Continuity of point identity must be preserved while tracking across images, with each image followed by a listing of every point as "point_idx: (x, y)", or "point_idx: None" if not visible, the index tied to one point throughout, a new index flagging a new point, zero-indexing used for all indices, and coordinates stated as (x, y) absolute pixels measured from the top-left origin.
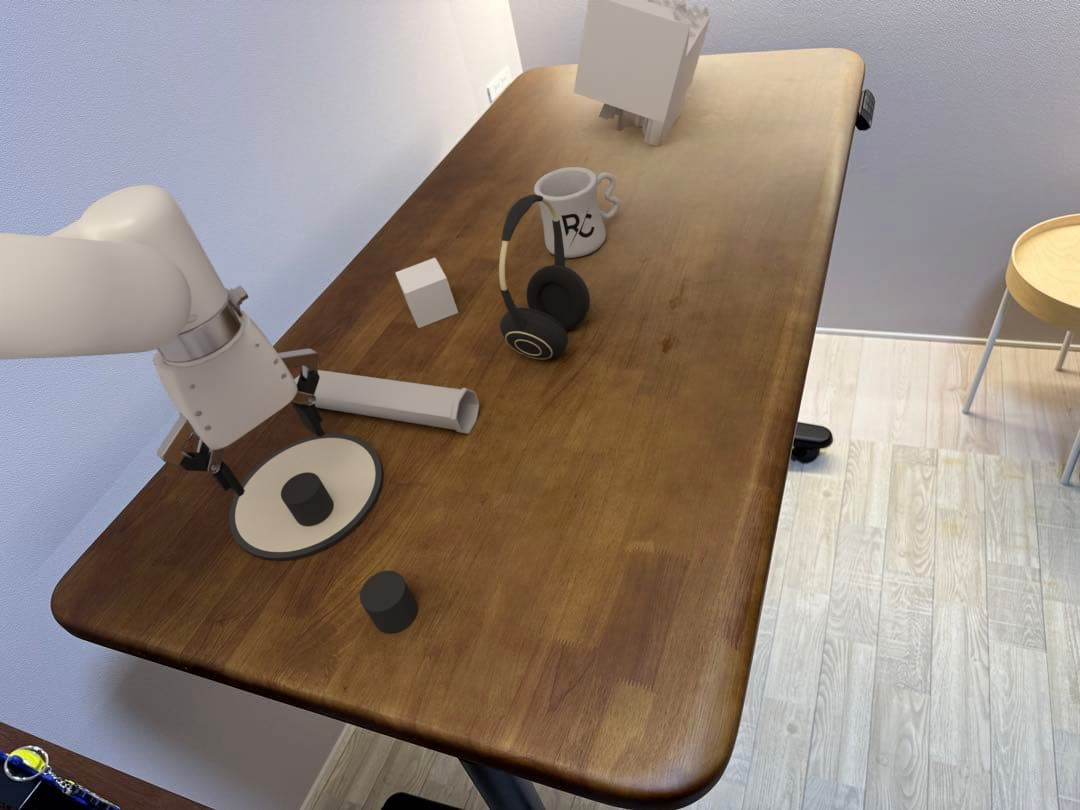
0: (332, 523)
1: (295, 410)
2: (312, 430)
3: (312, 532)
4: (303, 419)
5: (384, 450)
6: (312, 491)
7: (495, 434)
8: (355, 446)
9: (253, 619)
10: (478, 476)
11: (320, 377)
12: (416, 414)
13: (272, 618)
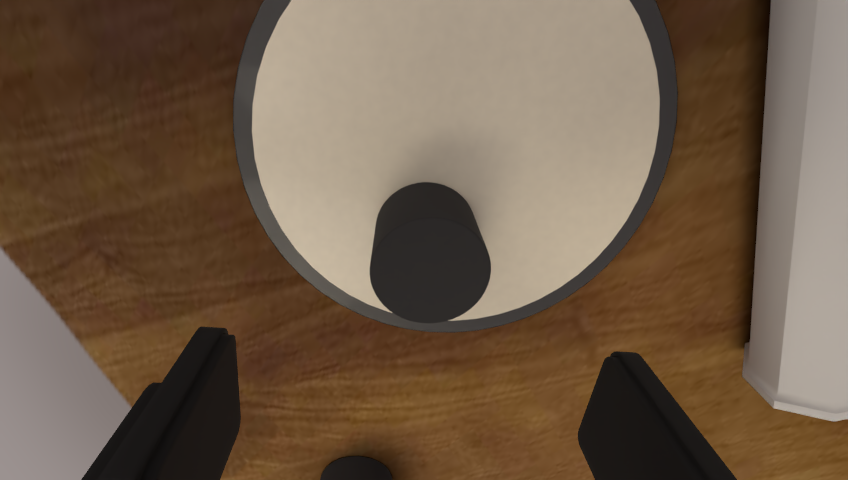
0: None
1: (660, 433)
2: (594, 431)
3: None
4: (626, 438)
5: (654, 221)
6: (439, 313)
7: (752, 389)
8: (643, 157)
9: (168, 312)
10: None
11: None
12: (779, 307)
13: None
